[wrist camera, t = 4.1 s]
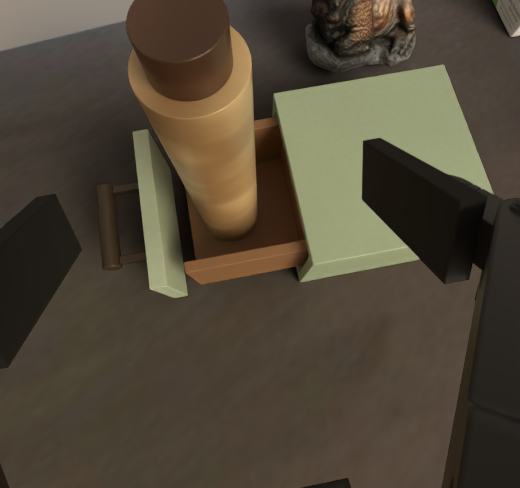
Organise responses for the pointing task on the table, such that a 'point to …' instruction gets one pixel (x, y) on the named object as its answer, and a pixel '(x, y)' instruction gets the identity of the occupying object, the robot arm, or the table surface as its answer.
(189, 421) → the table surface
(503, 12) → the ink box
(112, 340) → the table surface
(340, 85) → the cabinet
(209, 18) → the pepper mill
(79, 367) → the table surface
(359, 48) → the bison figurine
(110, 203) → the drawer
